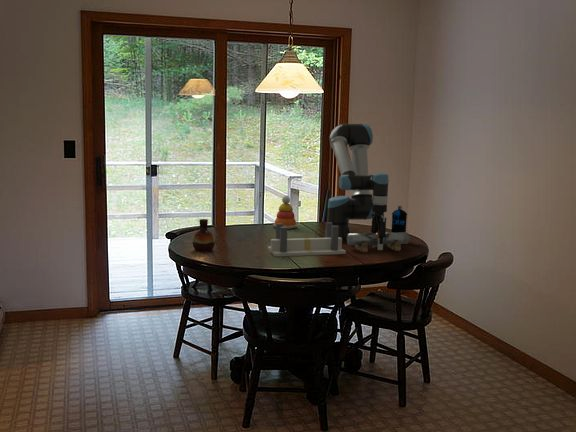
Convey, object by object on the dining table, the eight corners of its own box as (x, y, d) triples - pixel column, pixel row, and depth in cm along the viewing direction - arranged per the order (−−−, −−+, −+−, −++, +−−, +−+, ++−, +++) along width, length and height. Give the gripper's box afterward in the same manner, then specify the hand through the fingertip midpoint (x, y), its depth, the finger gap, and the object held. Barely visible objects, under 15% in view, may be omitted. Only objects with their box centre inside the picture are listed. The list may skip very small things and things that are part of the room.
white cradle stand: (267, 249, 312) (268, 222, 310) (335, 247, 321) (336, 221, 319) (274, 256, 297) (275, 228, 295) (345, 253, 306) (346, 227, 304)
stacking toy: (294, 230, 364) (294, 197, 361) (270, 228, 367) (271, 196, 364) (299, 226, 378) (300, 194, 375) (276, 224, 381) (277, 193, 378)
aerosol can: (393, 240, 343) (395, 204, 339) (407, 241, 338) (409, 205, 335) (388, 242, 336) (389, 206, 332) (402, 244, 331) (404, 207, 328)
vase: (219, 249, 309) (219, 219, 306) (205, 253, 299) (205, 222, 297) (201, 247, 314) (201, 217, 312) (187, 251, 305) (187, 220, 302)
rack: (354, 247, 321) (355, 239, 320) (392, 246, 326) (393, 238, 325) (361, 251, 311) (362, 243, 310) (400, 250, 316) (400, 242, 315)
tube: (350, 246, 311) (350, 234, 310) (346, 244, 317) (346, 232, 316) (409, 244, 319) (409, 233, 318) (404, 242, 325) (404, 231, 324)
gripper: (366, 201, 323) (364, 244, 326) (379, 206, 304) (377, 252, 308) (379, 201, 324) (377, 244, 328) (394, 206, 306) (391, 252, 310)
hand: (377, 248), depth 318 cm, fingers closed on tube, 6 cm apart
